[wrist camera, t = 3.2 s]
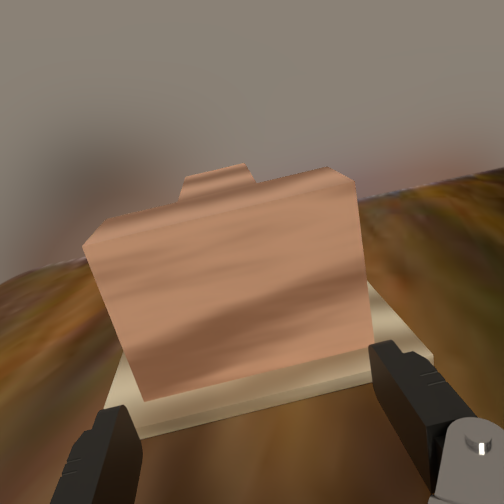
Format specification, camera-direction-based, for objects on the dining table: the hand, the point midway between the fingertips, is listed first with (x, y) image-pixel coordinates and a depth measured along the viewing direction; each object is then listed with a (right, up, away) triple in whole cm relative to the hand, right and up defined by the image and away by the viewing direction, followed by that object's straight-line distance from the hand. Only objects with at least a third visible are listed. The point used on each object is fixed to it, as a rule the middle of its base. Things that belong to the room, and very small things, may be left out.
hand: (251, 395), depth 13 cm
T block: (0, 0, +17) cm, 17 cm away
